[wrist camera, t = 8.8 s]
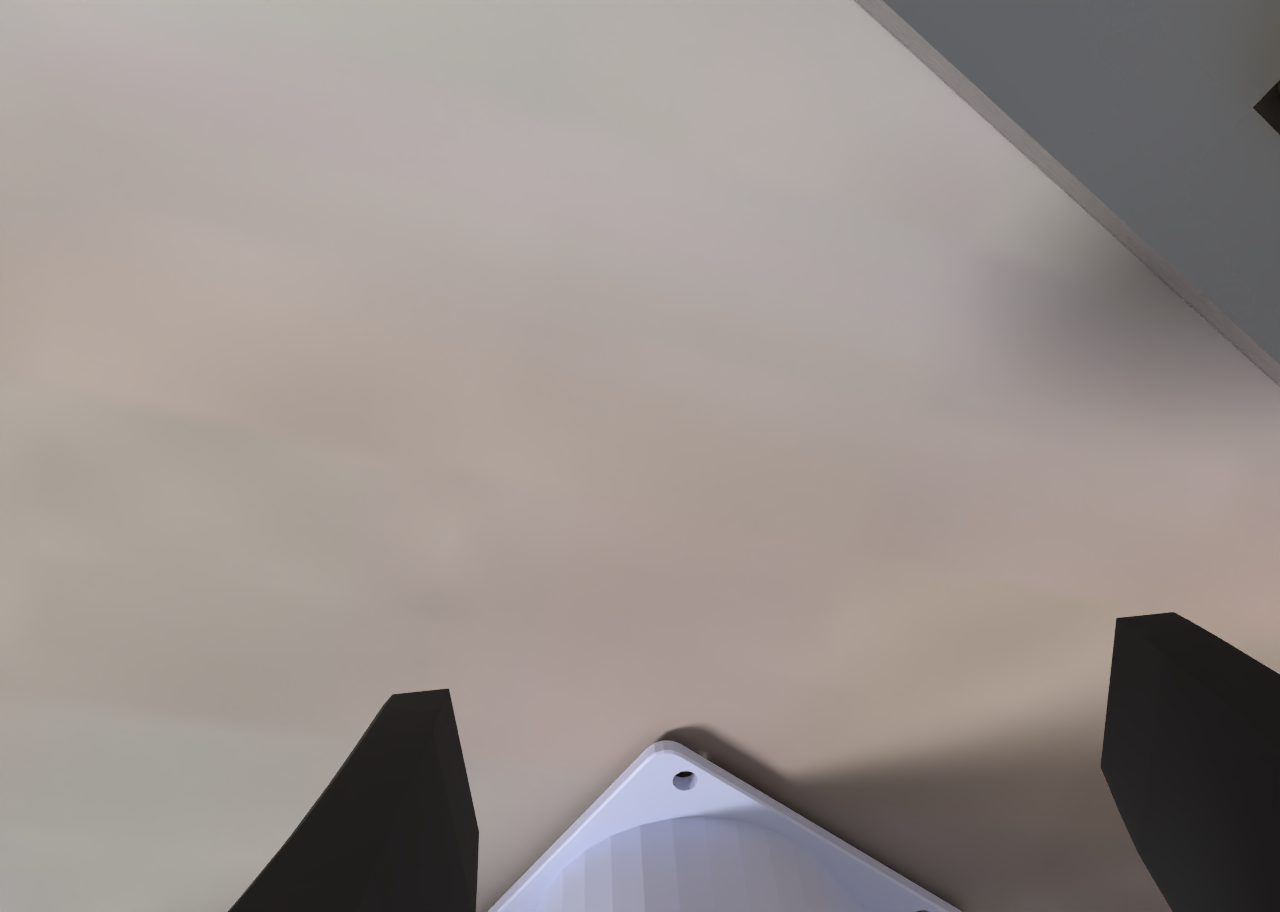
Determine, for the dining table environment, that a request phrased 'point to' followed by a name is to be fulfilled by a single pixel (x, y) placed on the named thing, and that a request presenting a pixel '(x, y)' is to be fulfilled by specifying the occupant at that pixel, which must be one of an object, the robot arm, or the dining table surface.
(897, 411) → the dining table surface
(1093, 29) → the junction block
